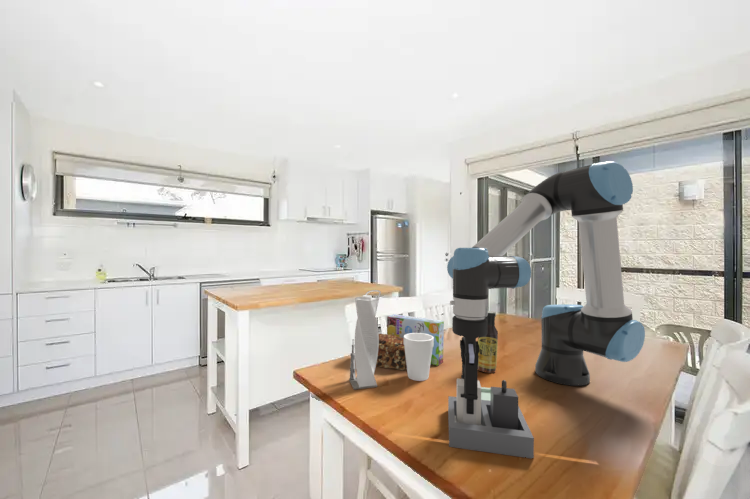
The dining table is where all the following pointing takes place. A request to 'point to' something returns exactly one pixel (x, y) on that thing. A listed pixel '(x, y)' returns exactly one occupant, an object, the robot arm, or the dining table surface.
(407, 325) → the snack box
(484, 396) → the tray
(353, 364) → the skyscraper
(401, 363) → the bread
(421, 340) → the foam cup
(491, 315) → the sauce bottle
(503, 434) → the grey desk organizer
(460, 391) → the white block with knob
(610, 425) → the dining table surface
